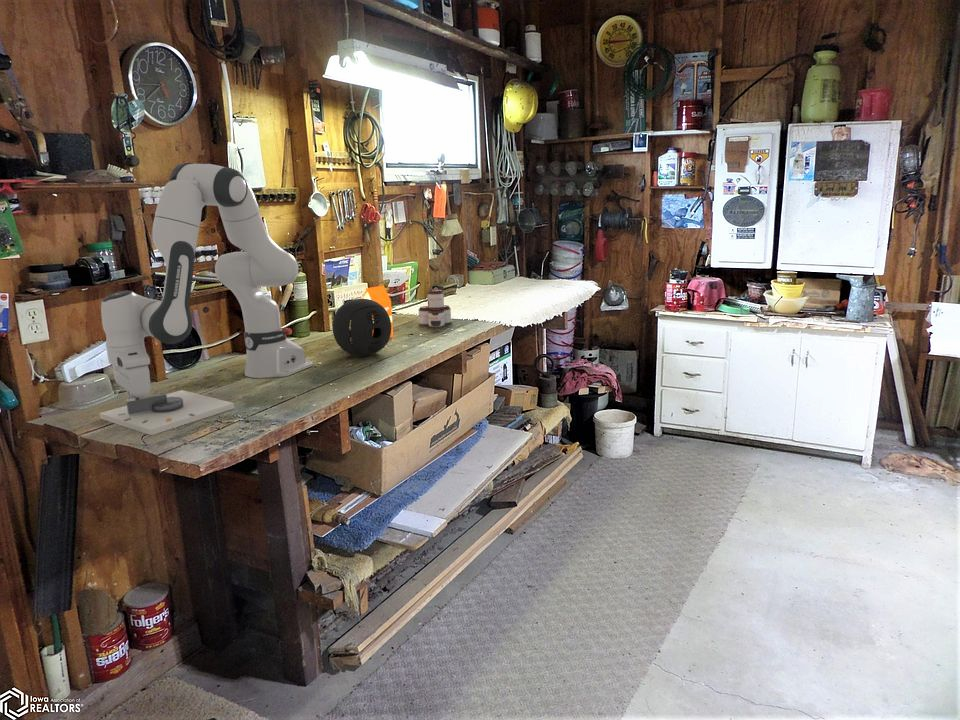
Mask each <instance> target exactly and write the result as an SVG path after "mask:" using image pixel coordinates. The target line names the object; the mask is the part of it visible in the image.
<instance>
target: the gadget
mask: <svg viewBox="0 0 960 720" xmlns="http://www.w3.org/2000/svg"><path fill="white" fill-rule="evenodd" d="M372 315H373V317H372ZM373 321H374V323H373ZM331 329H332V334H333V337H334V339H335V342H336V343H337V345H338V347H339V348H341V349H342V351H343V352H346V353H348V354H349V355H353V356H357V357H360V356H361V357H366V356H367V357H368V356H371V355H374V354H376V353H379V352H380V351H381V350H383V349H384V348H385V346H386V345H387V344H388V342H389V340H390V338H391V337H390V335H391V329H393V327H392V328H391V320H390V317H389V315H388V313H387V311H386V310H385V308H384V307H383V306H382V305H380V304H379V303H377V302H376V301H373V300H370V299H362V298H356V299H351V300H349V301H346V302H345V303H343V304H342V305H341V306H340V307H339V308H338V309H337V310H336V312H335V313H334V317H333V319H332V328H331ZM372 334H373V336H372Z"/></svg>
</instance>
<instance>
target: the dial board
mask: <svg viewBox="0 0 960 720" xmlns="http://www.w3.org/2000/svg"><path fill="white" fill-rule="evenodd" d="M165 394H166V396H167V397H180V398H182V399H183V407H181V408H179V409H176V410H172V411H166V412H155V411H152V410H150V411H145V412H140V413H135V414H130V415H129V414H128V411H127V405H123V406H120V407H117V408H114V409H109V410H106V411H102V412H99V419H100V420H103V421H107V422H110V423H112V424H115V425H118V426H122V427H123V428H124V427H125V428H127V429H131V430H134V431H137V432H140V433H142V434H145V435H149V436H153V435H156V434H160V433H162V432H166V431H169V430H172V429H175V428H177V427H181V425H182V426H184V424H185V425H187V424H191V423H193V422H197V421H200V420H203V419H206V418H209V417H212V416H215V415H219V414H221V413H225V412H228V411H230V410H233V409H235V404H234V402H230V401H227V400H223V399H219V398H214V397H211V396H206V395H203V394H199V393H195V392H192V391H187V390H183V389H181V390H177V391H174V392H169V393H165Z"/></svg>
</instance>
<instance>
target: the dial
mask: <svg viewBox="0 0 960 720" xmlns="http://www.w3.org/2000/svg"><path fill="white" fill-rule="evenodd" d="M166 394H167V393H165V392H164V393H158V394H153V395H146V396H140V397H139V398H136V399H135V397H125V404H126V406H127V411H128V414H129V415H130V414H135V413H140V412H145V411H150V410H152V411H155V412H166V411H172V410H176V409H179V408H181V407H183V399H182V398H180V397H167V396H166Z"/></svg>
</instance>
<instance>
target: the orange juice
mask: <svg viewBox="0 0 960 720" xmlns="http://www.w3.org/2000/svg"><path fill="white" fill-rule="evenodd" d="M361 299H370V300H373V301H376V302H377V303H379V304H380V305H382V306H383V307H384V308H385V310H386V311H387V313H388V315H389V317H390V320H391V328H392V329H391V335H390V338H393V337H394V332H393V331H394V329H393V315H392V313H393V312H392V311H393V310H392V300H391V298H390V296H389V294H388V292H387V289H386V287H385V285H380V286H372V287H366V289H365V291H364V294H363V295H362V298H361ZM372 317H373V315H372ZM373 323H374V321H373ZM372 336H373V334H372Z"/></svg>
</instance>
